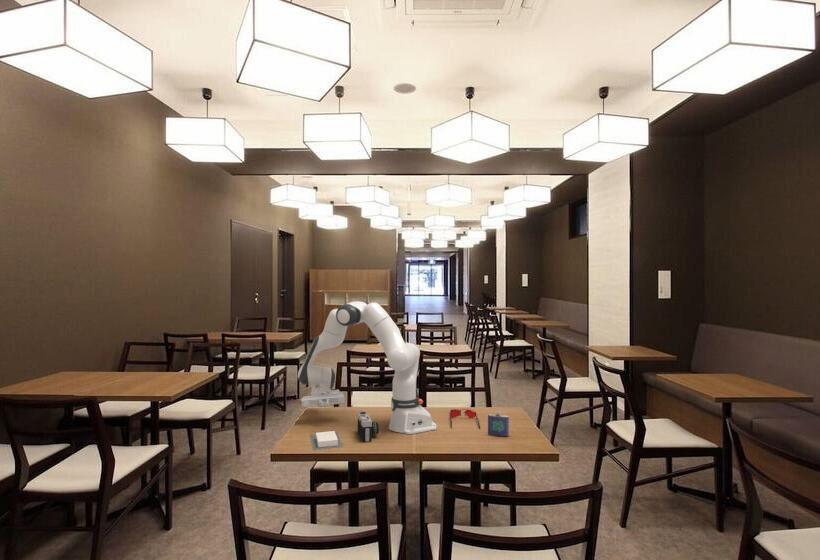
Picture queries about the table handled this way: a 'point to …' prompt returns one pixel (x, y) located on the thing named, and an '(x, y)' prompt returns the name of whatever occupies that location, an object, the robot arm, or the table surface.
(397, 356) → the robot arm
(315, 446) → the mat
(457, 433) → the table surface
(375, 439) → the table surface
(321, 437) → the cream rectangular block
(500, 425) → the flask
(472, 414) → the glasses
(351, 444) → the table surface
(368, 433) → the camera
